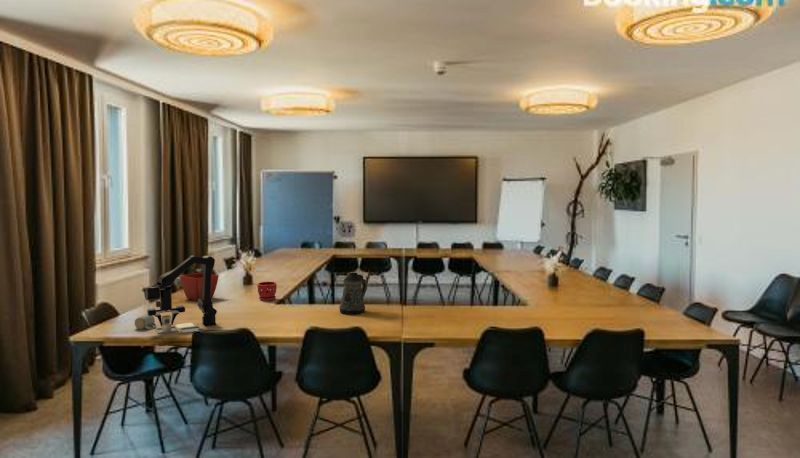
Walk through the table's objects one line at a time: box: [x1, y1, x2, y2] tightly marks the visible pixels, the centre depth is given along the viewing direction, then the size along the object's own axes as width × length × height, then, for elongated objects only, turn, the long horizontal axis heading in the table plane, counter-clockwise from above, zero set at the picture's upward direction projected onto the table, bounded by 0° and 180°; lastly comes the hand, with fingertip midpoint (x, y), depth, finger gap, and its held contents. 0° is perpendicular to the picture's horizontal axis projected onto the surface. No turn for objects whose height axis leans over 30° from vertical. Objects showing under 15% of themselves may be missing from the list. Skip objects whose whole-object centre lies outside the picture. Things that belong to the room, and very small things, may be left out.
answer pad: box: [175, 322, 195, 329], centre depth 307 cm, size 9×9×1 cm
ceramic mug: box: [134, 313, 157, 330], centre depth 302 cm, size 11×8×8 cm
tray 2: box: [179, 325, 202, 335], centre depth 297 cm, size 10×10×1 cm
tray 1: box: [154, 325, 179, 335], centre depth 296 cm, size 10×10×1 cm
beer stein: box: [338, 272, 368, 316], centre depth 345 cm, size 16×19×25 cm
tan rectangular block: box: [161, 314, 172, 332], centre depth 296 cm, size 4×4×8 cm
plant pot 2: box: [256, 281, 277, 302], centre depth 381 cm, size 13×13×12 cm
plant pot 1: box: [179, 272, 220, 302], centre depth 384 cm, size 19×19×17 cm
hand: (166, 326), depth 296 cm, fingers open, 5 cm apart
